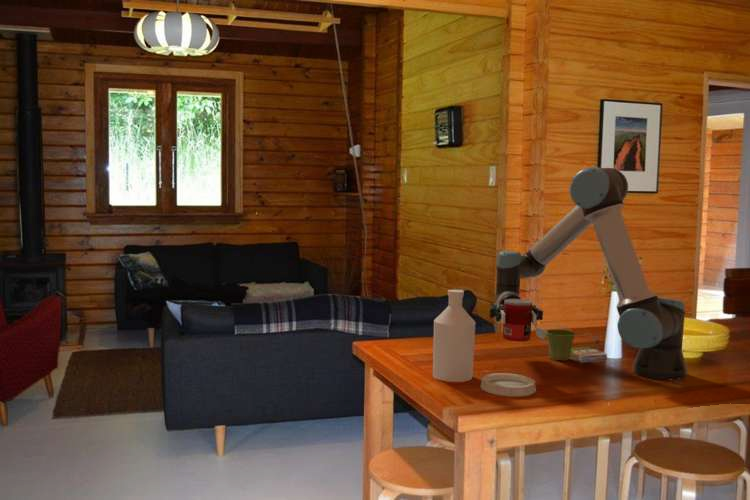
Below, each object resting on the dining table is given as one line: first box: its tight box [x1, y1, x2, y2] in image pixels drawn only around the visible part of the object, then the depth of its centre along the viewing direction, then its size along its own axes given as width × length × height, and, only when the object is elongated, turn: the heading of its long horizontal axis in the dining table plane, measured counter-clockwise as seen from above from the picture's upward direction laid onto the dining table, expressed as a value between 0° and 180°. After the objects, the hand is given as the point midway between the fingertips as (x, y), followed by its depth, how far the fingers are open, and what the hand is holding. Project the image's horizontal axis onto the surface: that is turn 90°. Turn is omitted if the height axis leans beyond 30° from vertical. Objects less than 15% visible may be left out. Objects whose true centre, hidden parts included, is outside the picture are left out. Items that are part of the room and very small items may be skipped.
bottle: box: [432, 289, 476, 383], centre depth 222 cm, size 12×12×25 cm
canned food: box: [502, 298, 533, 342], centre depth 223 cm, size 8×8×11 cm
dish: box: [480, 372, 537, 398], centre depth 213 cm, size 15×15×2 cm
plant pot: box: [545, 328, 577, 362], centre depth 248 cm, size 9×9×9 cm
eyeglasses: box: [534, 325, 599, 342], centre depth 278 cm, size 15×18×4 cm
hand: (519, 319), depth 218 cm, fingers closed on canned food, 8 cm apart
